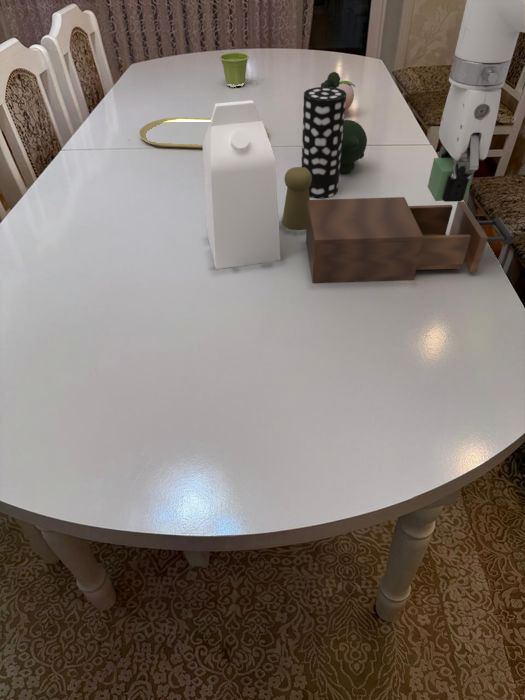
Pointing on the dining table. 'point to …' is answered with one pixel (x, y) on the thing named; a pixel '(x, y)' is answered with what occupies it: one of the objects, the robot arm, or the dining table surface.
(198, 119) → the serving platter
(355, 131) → the toy figurine
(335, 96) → the spotted tube
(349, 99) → the decorative fruit
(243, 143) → the milk
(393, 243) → the cabinet
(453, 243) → the drawer
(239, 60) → the plant pot
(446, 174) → the block
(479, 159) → the robot arm
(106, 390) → the dining table surface
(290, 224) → the olive pawn
